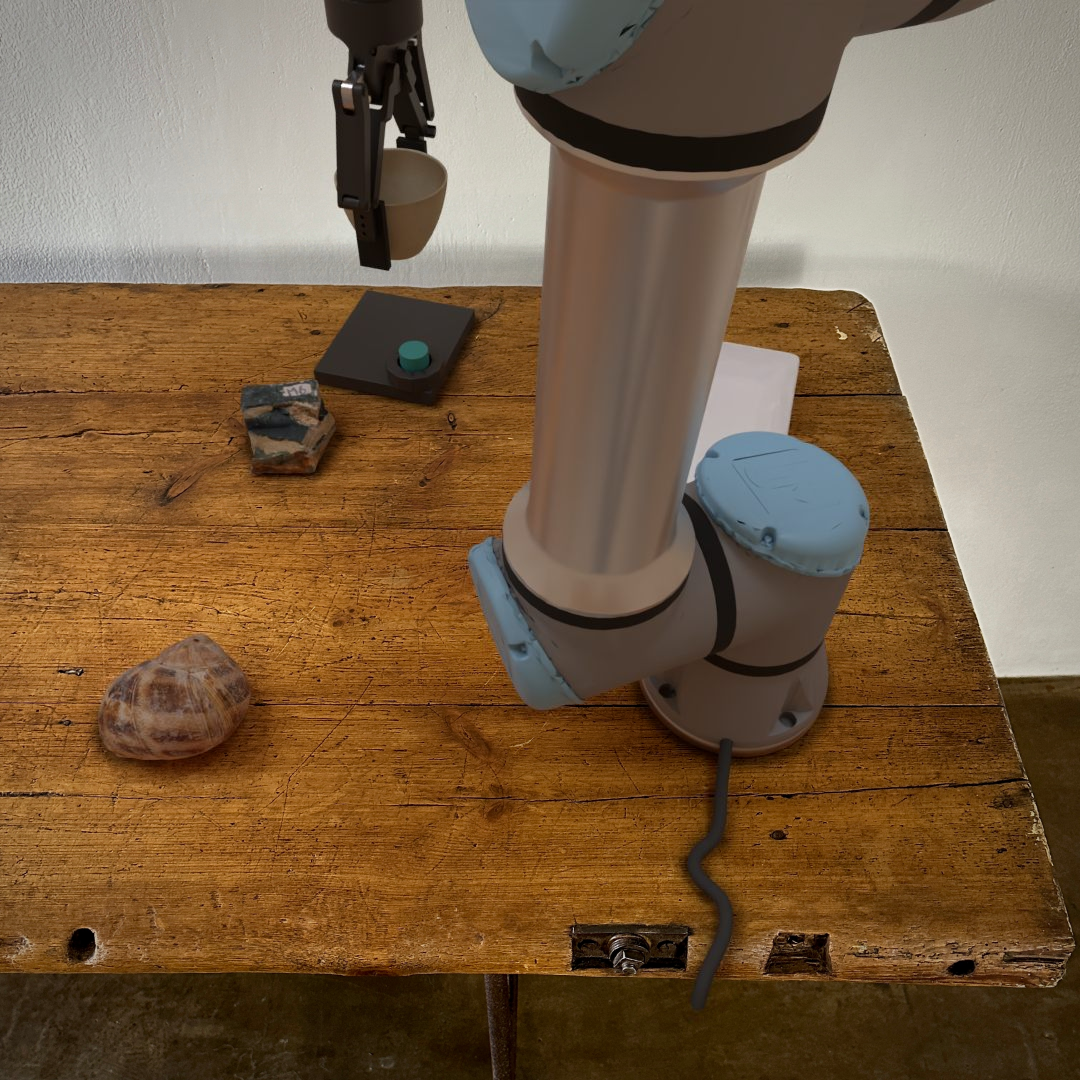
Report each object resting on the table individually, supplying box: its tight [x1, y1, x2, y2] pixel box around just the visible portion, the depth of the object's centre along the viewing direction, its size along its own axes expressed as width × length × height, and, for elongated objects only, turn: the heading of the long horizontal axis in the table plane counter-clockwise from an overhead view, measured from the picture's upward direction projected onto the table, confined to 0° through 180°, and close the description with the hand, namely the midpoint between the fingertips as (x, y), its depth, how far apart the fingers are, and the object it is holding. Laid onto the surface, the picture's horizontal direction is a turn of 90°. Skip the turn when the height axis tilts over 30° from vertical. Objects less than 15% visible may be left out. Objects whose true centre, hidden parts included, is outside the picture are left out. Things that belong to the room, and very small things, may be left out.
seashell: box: [97, 633, 252, 761], centre depth 74 cm, size 10×9×10 cm
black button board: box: [312, 289, 476, 407], centre depth 105 cm, size 15×13×4 cm
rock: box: [240, 378, 338, 475], centre depth 95 cm, size 9×9×6 cm
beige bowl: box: [333, 147, 449, 261], centre depth 89 cm, size 10×10×7 cm
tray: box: [687, 340, 801, 483], centre depth 95 cm, size 17×31×4 cm, turn 164°
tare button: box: [399, 341, 429, 372], centre depth 100 cm, size 3×3×2 cm
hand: (396, 234), depth 91 cm, fingers closed on beige bowl, 10 cm apart
